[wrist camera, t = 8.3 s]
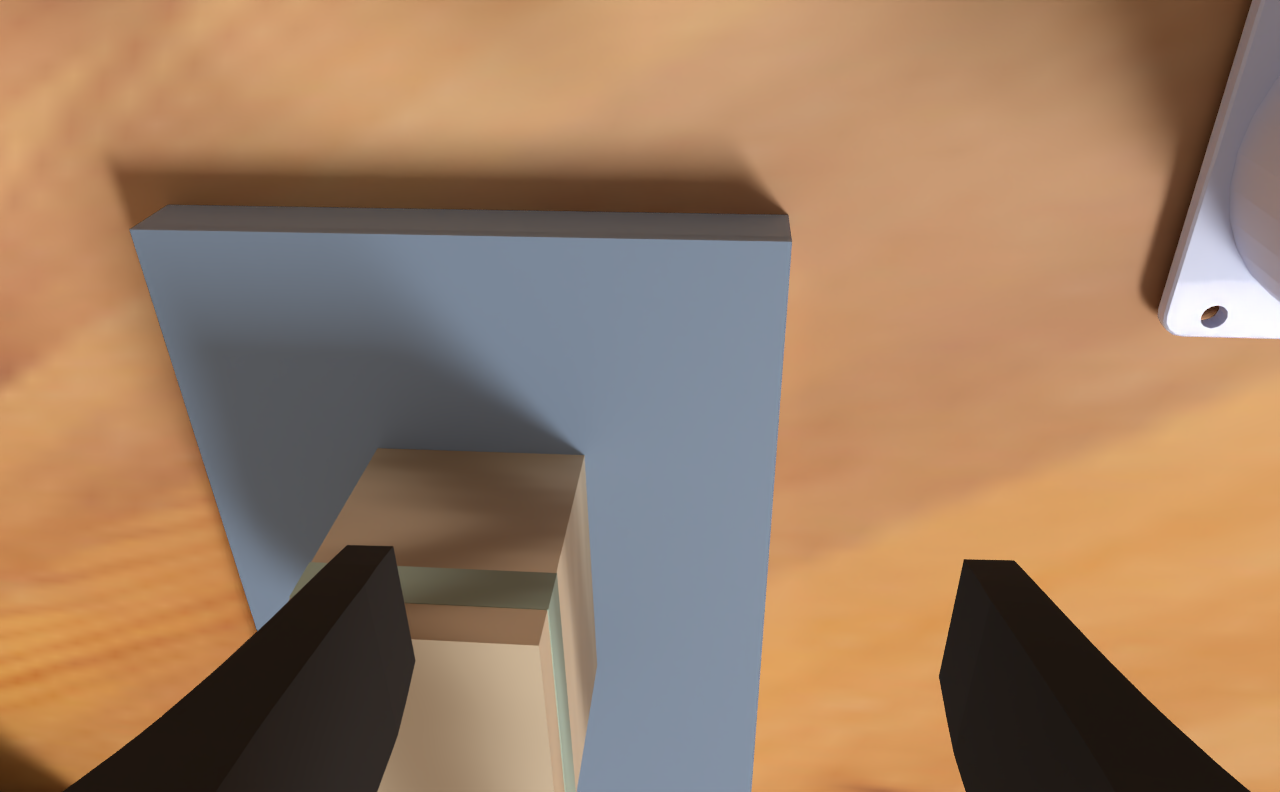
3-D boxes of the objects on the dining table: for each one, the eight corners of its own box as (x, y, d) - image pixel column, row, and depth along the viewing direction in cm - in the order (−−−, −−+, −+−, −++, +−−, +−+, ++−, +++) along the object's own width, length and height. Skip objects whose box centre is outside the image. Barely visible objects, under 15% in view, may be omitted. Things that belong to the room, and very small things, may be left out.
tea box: (585, 454, 22) (540, 644, 16) (598, 665, 25) (563, 875, 20) (376, 447, 22) (268, 631, 17) (418, 656, 26) (340, 860, 21)
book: (787, 207, 20) (792, 241, 18) (749, 748, 29) (750, 804, 28) (178, 198, 21) (129, 229, 20) (326, 720, 31) (302, 772, 29)
